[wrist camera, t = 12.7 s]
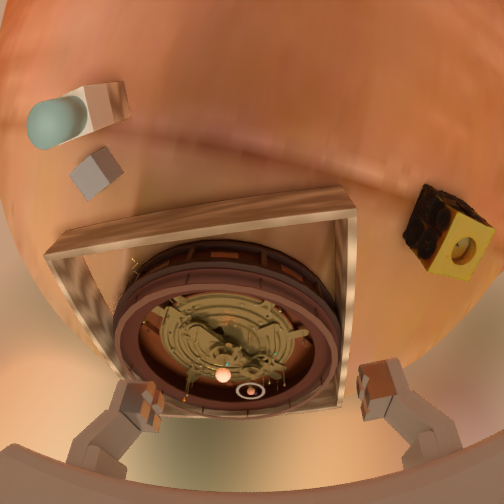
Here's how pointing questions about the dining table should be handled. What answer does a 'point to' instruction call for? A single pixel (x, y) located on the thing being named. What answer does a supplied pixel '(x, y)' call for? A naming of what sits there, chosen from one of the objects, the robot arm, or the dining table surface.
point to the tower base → (118, 101)
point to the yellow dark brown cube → (447, 234)
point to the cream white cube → (94, 107)
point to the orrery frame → (200, 225)
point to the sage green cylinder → (56, 121)
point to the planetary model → (228, 328)
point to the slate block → (96, 173)
